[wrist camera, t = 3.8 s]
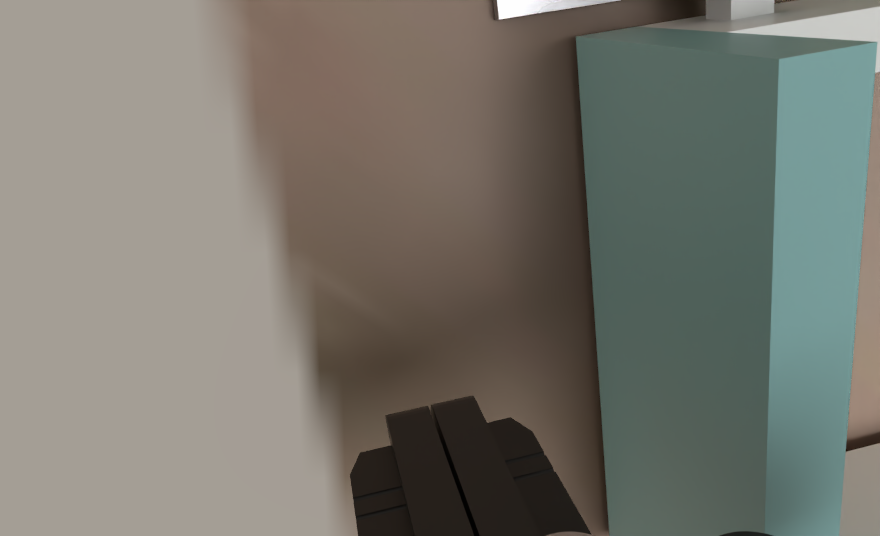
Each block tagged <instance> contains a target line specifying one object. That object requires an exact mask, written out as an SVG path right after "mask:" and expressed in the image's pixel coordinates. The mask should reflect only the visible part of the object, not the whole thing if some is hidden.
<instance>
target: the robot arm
mask: <svg viewBox="0 0 880 536" xmlns="http://www.w3.org/2000/svg"><path fill="white" fill-rule="evenodd" d="M386 422H387V428H388V433H389V438H390V443H391V446H387V447H383V448H378V449H374V450H370V451H366V452H361V453H360V454H359V456H358V459H357V461H356V463H355V465H354V468H353V470H352V472H351V474H350V478H351V486H352V493H353V499H354V508H355V515H356V522H357V530H358V536H594V535H592V534H591V533H590V531H589V529H588V527H587V526H586V524H585V522H584V520H583V519H582V517H581V515H580V514H579V512H578V510H577V508H576V507H575V505H574V503H573V501H572V500H571V498H570V496H569V494H568V493H567V491H566V489H565V488H564V486H563V484H562V482H561V481H560V479H559V477H558V475H557V474H556V472H554V470H553V467H552V465H551V463H550V462H549V460H548V458H547V456H546V455H544V451H543V449H542V448H541V446H540V444H539V442H538V441H537V439H536V437H535V436H534V434H533V432H532V431H531V430H529V429H527V428H526V427H524V426H523V425H521V424H520V423H518V422H517V421H515V420H514V419H512V418H506V419H502V420H497V421H493V422H489V423H487V422H486V420H485V418H484V416H483V414H482V412H481V410H480V408H479V406H478V404H477V402H476V400H475V398H474V396H468V397H464V398H459V399H455V400H450V401H446V402H442V403H437V404H433V405H431V413H430V410H429V407H428V406H425V407H420V408H416V409H412V410H407V411H403V412H398V413H394V414H390V415H386ZM720 536H773V535H769V534H765V533H760V532H752V531H737V532H731V533H726V534H723V535H720Z"/></svg>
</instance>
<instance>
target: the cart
mask: <svg viewBox="0 0 880 536" xmlns="http://www.w3.org/2000/svg"><path fill="white" fill-rule="evenodd" d="M576 47H577V61H578V76H579V91H580V106H581V121H582V136H583V150H584V165H585V180H586V195H587V210H588V225H589V239H590V254H591V269H592V284H593V299H594V314H595V328H596V343H597V358H598V373H599V388H600V403H601V417H602V432H603V447H604V462H605V477H606V492H607V506H608V521H609V536H720V535H723V534H726V533H731V532H737V531H752V532H760V533H765V534H769V535H773V536H880V443H878V444H874V445H870V446H866V447H863V448H859V449H855V450H851V451H847V452H846V440H847V428H848V415H849V402H850V389H851V376H852V363H853V350H854V337H855V325H856V312H857V299H858V286H859V273H860V260H861V247H862V235H863V222H864V209H865V196H866V183H867V170H868V157H869V144H870V132H871V119H872V106H873V93H874V80H875V73H877V72H880V0H795V1H789V2H783V3H777V4H774V0H706V15H704V16H698V17H692V18H686V19H680V20H673V21H667V22H661V23H655V24H649V25H643V26H637V27H631V28H625V29H619V30H613V31H606V32H600V33H594V34H588V35H582V36H576Z"/></svg>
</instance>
